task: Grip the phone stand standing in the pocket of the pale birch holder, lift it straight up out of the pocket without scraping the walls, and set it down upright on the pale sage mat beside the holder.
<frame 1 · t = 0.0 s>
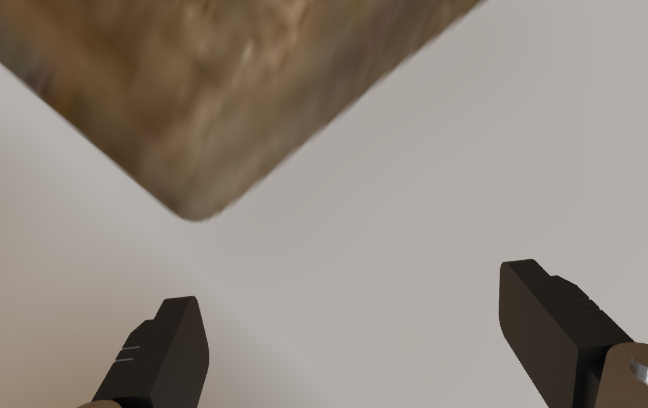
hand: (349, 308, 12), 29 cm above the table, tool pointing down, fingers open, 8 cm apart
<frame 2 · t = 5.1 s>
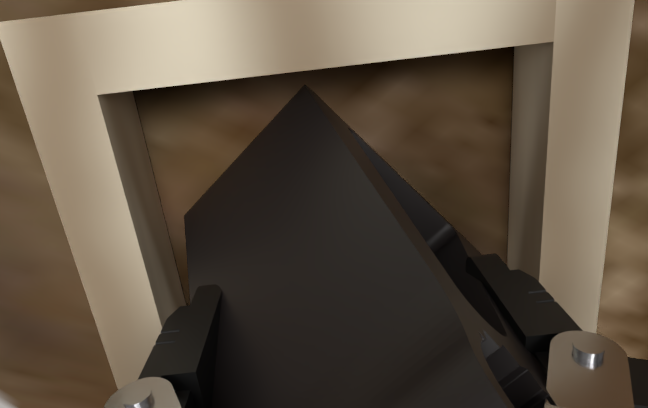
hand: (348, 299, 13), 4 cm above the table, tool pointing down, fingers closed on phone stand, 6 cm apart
pocket holder: (340, 235, 17), on the table
phone stand: (339, 232, 17), resting in pocket holder, touching gripper
when the fingers open (6 cm above the table, at t = 13.8 s): phone stand stays where it is, resting on sage mat.
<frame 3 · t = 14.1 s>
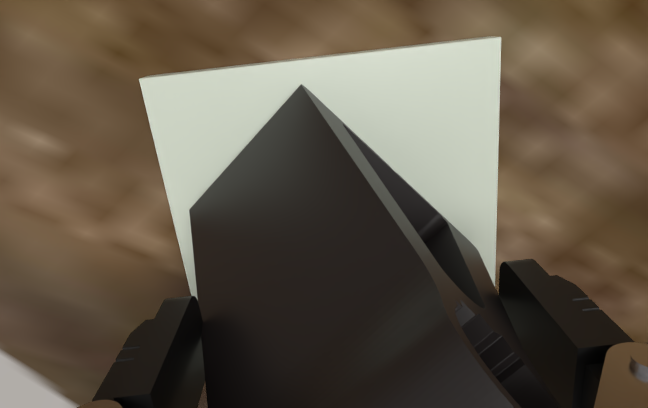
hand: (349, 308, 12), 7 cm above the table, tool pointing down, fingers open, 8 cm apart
sage mat: (335, 214, 19), on the table
phone stand: (336, 223, 18), point 1 cm above the table, touching sage mat
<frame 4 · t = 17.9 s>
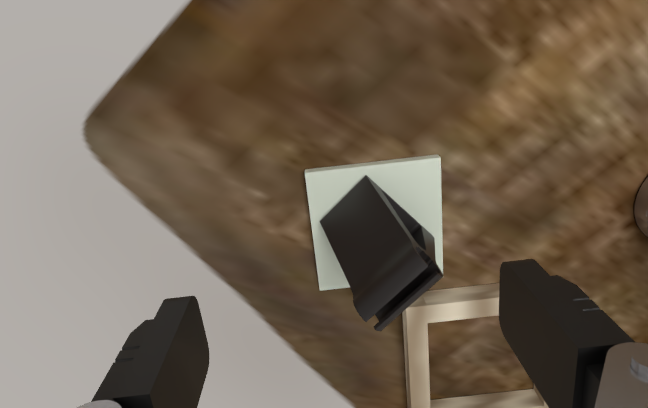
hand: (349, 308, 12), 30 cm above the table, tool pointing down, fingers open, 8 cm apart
pocket holder: (479, 350, 50), on the table
sage mat: (375, 223, 44), on the table
phone stand: (376, 227, 44), point 1 cm above the table, touching sage mat
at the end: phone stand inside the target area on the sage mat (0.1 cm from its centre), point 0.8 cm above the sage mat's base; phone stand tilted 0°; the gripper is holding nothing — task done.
